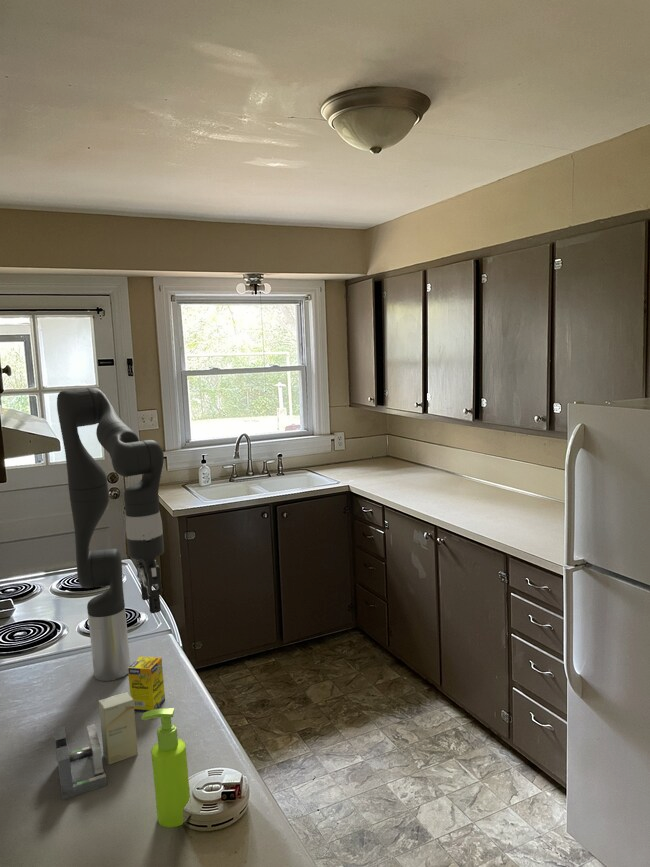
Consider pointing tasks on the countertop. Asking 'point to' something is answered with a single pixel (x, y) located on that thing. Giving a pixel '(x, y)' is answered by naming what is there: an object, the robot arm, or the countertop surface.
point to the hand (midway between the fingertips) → (151, 605)
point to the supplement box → (146, 683)
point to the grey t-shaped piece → (91, 751)
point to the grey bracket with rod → (75, 769)
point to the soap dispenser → (169, 770)
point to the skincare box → (118, 727)
